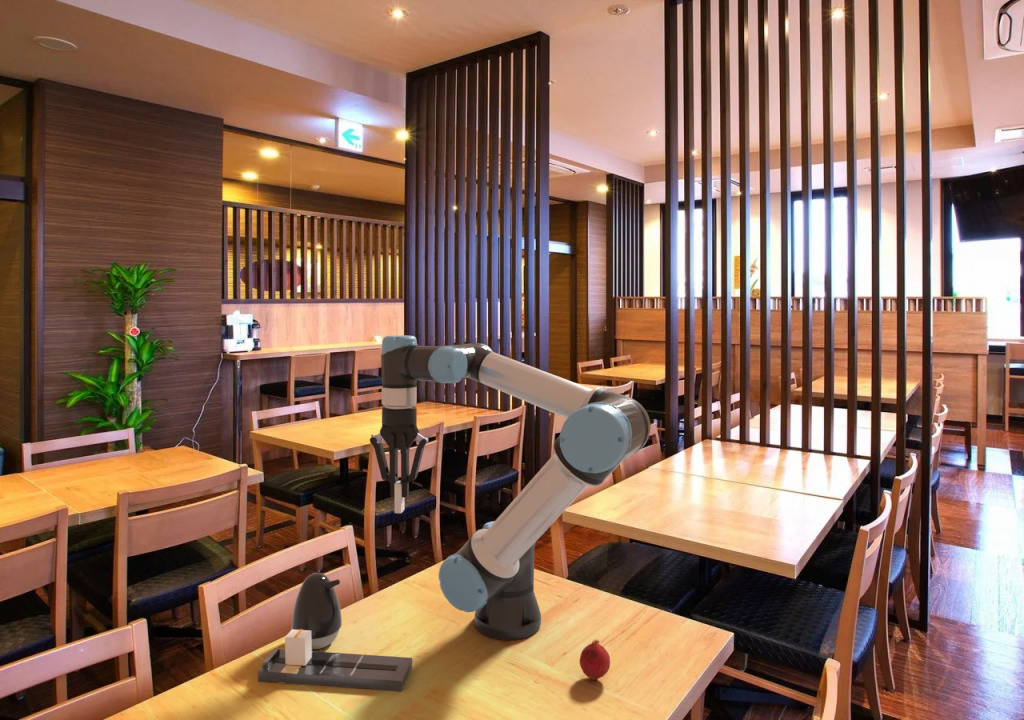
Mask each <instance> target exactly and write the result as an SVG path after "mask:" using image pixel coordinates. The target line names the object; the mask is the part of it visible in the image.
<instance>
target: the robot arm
mask: <svg viewBox="0 0 1024 720" xmlns="http://www.w3.org/2000/svg"><path fill="white" fill-rule="evenodd" d="M417 341H418V340H417V337H416V336H414V335H398V334H397V335H386V336H384V337H383V338H382V340H381V354H380V359H381V360H380V361H381V405H383V407H382V408H381V427H380V430H379V433H378V434H376V435H373V436H371V437H370V438H369V442H370V444H371V446H373V448H374V452H375V456H376V460H377V465H378V469H379V471H380V472H379V474H380V479H382V480H383V481H387V482H389V484H390V485H389V489H390V490H389V491H390V492H389V495H390V497H391V498H394V514H402V513H403V512H404V511H405V498H408V496H409V494H410V487H409V484H410V482H414V481H415V480H416V478H417V477H418V474H419V471H420V467H421V462H422V457H423V454H424V450H425V446H427V444H428V443H429V442H430V441H429V437H428V436H423V435H422V434H420V431H419V430H420V429H419V428H418V423H417V422H418V421H417V416H418V415H417V414H418V413H417V412H418V411H417V410H418V409H417V407H416V406H415V405H416V404H417V403H418V402H417V394H418V393H417V382H418V381H421V382H431V383H432V382H433V383H440V384H442V385H444V384H456V383H459V382H461V381H462V379H470V380H473V381H475V382H478V383H480V384H483V385H485V386H487V387H490V388H492V389H495V390H498V391H500V392H503V393H505V394H507V395H510V396H512V397H514V398H516V399H519V400H522V401H524V402H526V403H529V404H530V405H533V406H536V407H538V408H541V409H544V410H546V411H548V412H550V413H553V414H555V415H558V416H560V417H562V418H565V421H564V422H563V425H562V426H561V430H560V432H559V433H560V434H559V436H558V437H557V438H556V439H555V440H554V441H553V443H552V451H553V454H552V456H551V457H550V458H549V459H548V460H547V461H546V462H545V464H544V465H543V466H542V467H541V468H540V470H539V471H537V473H536V474H535V475H534V477H533V478H532V479H530V480H529V482H528V483H527V484H526V485H525V486H524V488H523V489H522V490H521V491H520V492H519V493H518V494H517V495H516V496H515V498H514V499H513V500H512V501H511V503H510V504H509V505H508V506H506V508H505V509H504V511H502V513H501V514H500V515H499V516H498V517H497V518H496V519H495V520H493V521H489V522H486V523H484V525H483V527H482V528H481V529H478V530H476V531H475V532H474V533H473V535H471V537H470V538H469V539H468V540H467V541H466V543H464V545H462V547H461V548H460V549H459V550H458V551H457V552H456V553H453V554H451V555H448V556H447V558H446V559H444V560H443V562H442V563H441V565H440V567H439V570H438V581H439V587H440V590H441V592H442V594H443V596H444V598H445V599H446V600H447V601H448V603H449V604H450V605H452V607H454V608H455V609H457V610H458V611H463V612H465V613H472V612H473V613H474V626H475V629H476V630H477V631H478V632H479V633H480V634H481V635H484V636H486V637H488V638H491V639H497V640H507V641H511V640H520V638H521V639H524V637H525V638H527V636H528V637H531V636H532V635H534V634H536V633H537V632H538V631H539V630H540V628H541V626H542V613H541V610H540V606H539V603H538V601H537V597H536V594H535V590H534V589H535V588H534V587H535V585H534V583H535V582H534V581H535V545H536V542H537V541H538V540H539V539H540V538H541V537H542V535H544V534H545V532H546V531H547V530H549V528H550V527H551V526H552V525H553V524H554V523H555V522H556V521H557V520H558V518H559V517H560V516H561V515H562V514H563V513H564V512H565V511H566V510H567V508H568V507H570V505H572V503H574V502H575V500H576V499H577V498H578V497H579V496H580V495H581V494H582V493H583V492H584V491H585V490H586V488H587V487H598V486H600V485H601V484H603V483H604V482H605V480H606V479H608V477H609V476H610V475H611V474H612V473H614V471H615V470H616V469H617V468H618V467H619V465H620V464H622V463H623V462H624V461H625V460H626V459H627V458H629V457H630V456H633V455H635V454H636V453H637V452H639V451H640V450H642V448H644V446H645V445H646V443H647V442H648V439H649V437H650V434H651V422H650V416H649V414H648V412H647V411H646V409H645V408H644V407H643V405H642V404H641V403H640V402H638V401H637V400H635V399H633V398H632V397H629V396H628V395H627V396H626V395H624V394H620V393H618V392H615V391H612V390H609V389H606V388H603V387H602V386H601V387H600V386H599V387H596V388H590V387H587V386H584V385H582V384H579V383H577V382H573V381H571V380H569V379H566V378H563V377H561V376H558V375H555V374H552V373H550V372H547V371H544V370H541V369H539V368H537V367H534V366H533V365H532V366H531V365H528V364H526V363H523V362H521V361H518V360H515V359H514V358H513V359H512V358H510V357H508V356H504V355H502V354H500V353H497V352H494V350H492V348H491V347H489V345H486V344H484V343H478V342H471V343H463V344H451V345H449V344H448V345H440V346H439V345H438V346H437V345H436V346H435V345H419V344H418V342H417ZM415 440H416V442H415V443H416V445H417V446H416V450H415V451H414V457H413V461H412V465H411V470H410V450H411V449H410V447H411V446H412V444H413V443H414V441H415ZM383 442H385V444H386V445H387V446H388V453H389V454H388V455H389V464H388V461H387V456H386V452H385V448H384V445H383ZM399 451H400V477H399ZM399 478H400V480H399ZM540 625H541V626H540ZM538 629H539V630H538ZM537 630H538V631H537ZM536 631H537V632H536ZM535 632H536V633H535ZM533 633H534V634H533ZM531 634H532V635H531Z"/></svg>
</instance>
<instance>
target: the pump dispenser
mask: <svg viewBox="0 0 1024 720" xmlns="http://www.w3.org/2000/svg"><path fill="white" fill-rule="evenodd" d="M340 584H341V581H340V579H332V580H330V578H329V577H328V576H327V575H326V574H324V573H321V572H313V573H312V574H311V573H310V574H309V575H308V576H307V577H305V579H304V581H303V582H302V584H301V586H300V588H299V591H298V594H297V597H296V599H295V603H294V607H293V611H292V619H291V630H292V629H294V630H300V629H303V630H310V631H311V641H312V650H319V649H323V648H326V647H328V646H329V645H331V644H332V643H333V642H334V641H336V638H337V637H338V635H339V632H340V630H341V627H342V625H343V624H342V623H343V621H342V612H341V611H342V610H341V606H340V601H339V599H338V595H337V593H336V589H335V587H336V586H339V585H340Z"/></svg>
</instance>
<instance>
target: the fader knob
mask: <svg viewBox="0 0 1024 720" xmlns="http://www.w3.org/2000/svg"><path fill="white" fill-rule="evenodd" d="M284 649H285V664H288V665H302V666H306V664H307V663H308V662H309V660H310V659H311V658H312V651H313V649H312V641H311V631H310V630H303V629H300V630H294V629H292V628H291V630H290V631H289V632H288V633H287V634H286V635H285V637H284Z"/></svg>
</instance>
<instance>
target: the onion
mask: <svg viewBox="0 0 1024 720" xmlns="http://www.w3.org/2000/svg"><path fill="white" fill-rule="evenodd" d="M579 656H580V657H579V665H580V668H581V671H582V673H583V674H584V675H585V676H586V677H587V678H589V679H590V680H593V681H597V680H599V679H601V678H603V677H604V676H605V675H606V674H607V673H608V671H609V670H610V667H611V658H610V653H609V652H608V651H607V649H606V648H605V647H604V646H603V645H602V644H600V640H599V639H598V638H595V639H593V640H592V642H591V643H589V644H588V645H586V646H585V647H584V648H583V649H582V651H581V653H580V655H579Z"/></svg>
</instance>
